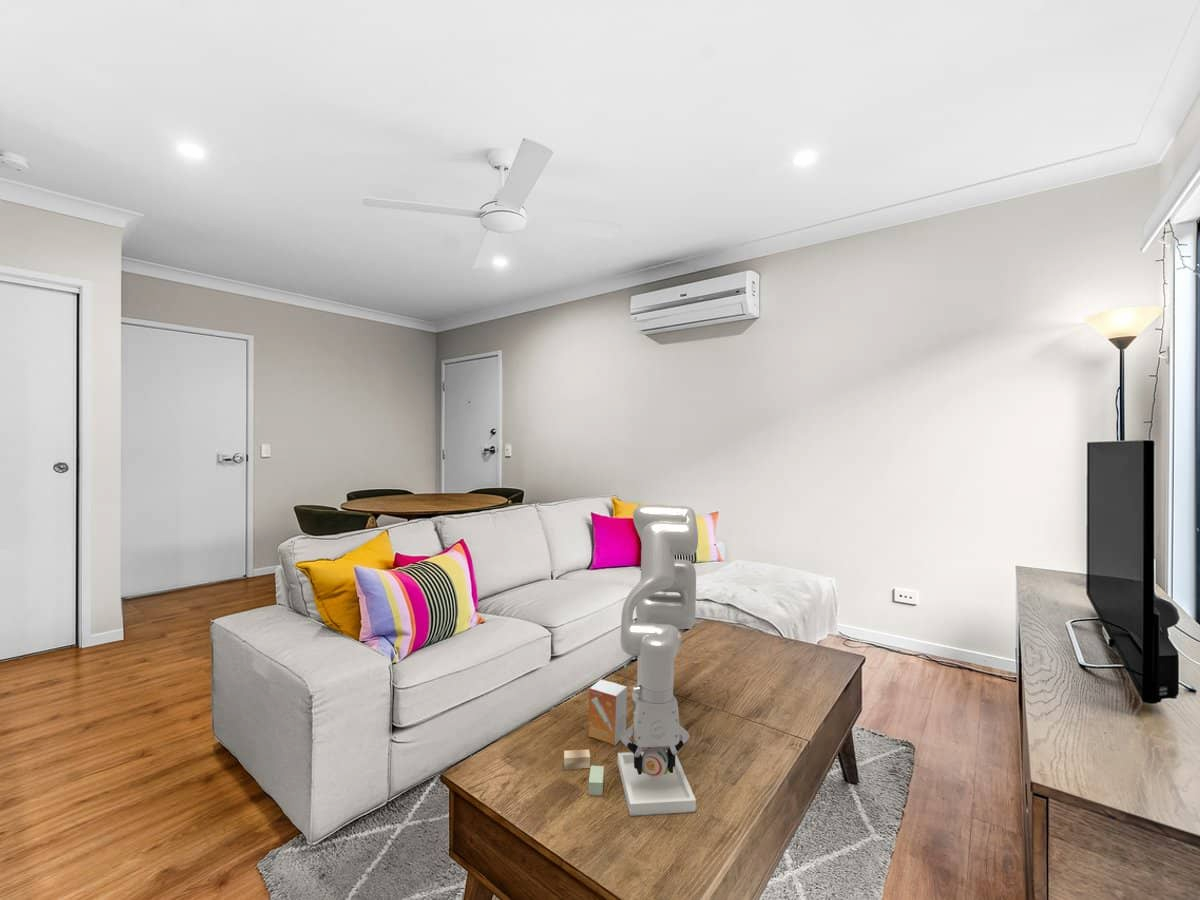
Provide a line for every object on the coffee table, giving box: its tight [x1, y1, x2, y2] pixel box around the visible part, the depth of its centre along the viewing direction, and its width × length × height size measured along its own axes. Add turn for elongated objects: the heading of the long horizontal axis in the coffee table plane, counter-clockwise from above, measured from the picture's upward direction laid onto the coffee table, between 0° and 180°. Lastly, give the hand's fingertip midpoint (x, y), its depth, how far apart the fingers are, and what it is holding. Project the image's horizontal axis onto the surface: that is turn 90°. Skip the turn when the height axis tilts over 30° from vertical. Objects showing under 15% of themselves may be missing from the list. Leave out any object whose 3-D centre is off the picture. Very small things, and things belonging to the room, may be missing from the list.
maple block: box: [563, 749, 591, 770], centre depth 129 cm, size 6×3×3 cm, turn 96°
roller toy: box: [642, 747, 669, 778], centre depth 122 cm, size 4×6×6 cm
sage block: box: [588, 765, 605, 796], centre depth 122 cm, size 6×3×3 cm, turn 176°
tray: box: [617, 750, 697, 817], centre depth 122 cm, size 18×14×2 cm
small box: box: [587, 678, 628, 746], centre depth 142 cm, size 8×6×13 cm
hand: (654, 769), depth 122 cm, fingers closed on roller toy, 6 cm apart
